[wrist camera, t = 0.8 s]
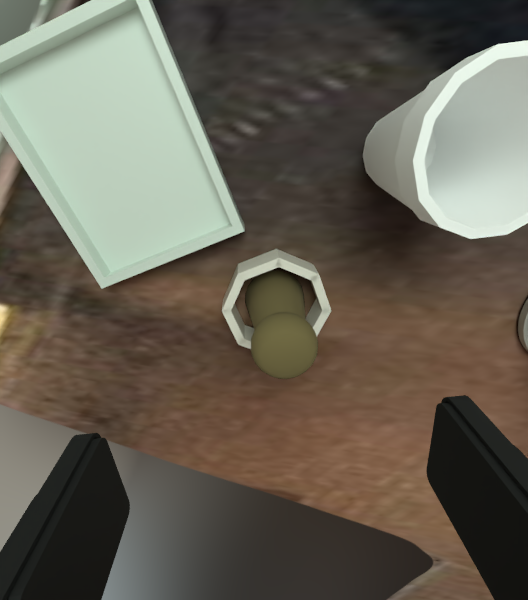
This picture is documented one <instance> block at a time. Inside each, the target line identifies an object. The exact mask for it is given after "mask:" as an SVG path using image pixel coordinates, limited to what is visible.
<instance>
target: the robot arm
mask: <svg viewBox="0 0 528 600" xmlns="http://www.w3.org/2000/svg"><path fill="white" fill-rule="evenodd" d="M518 334H519V339H520V341H521V343H522V345H523V347H524V348H525V349H526V350H527V351H528V299H527V300H526V302H525V304H524V306H523V308H522V311H521V313H520V317H519V321H518ZM427 477H428V480H429V483H430V485H431V486H432V488H433V490H434V492H435V494H436V495H437V497H438V499H439V501H440V503H441V504H442V506H443V508H444V510H445V512H446V513H447V515H448V517H449V519H450V521H451V522H452V524H453V526H454V528H455V530H456V531H457V533H458V535H459V537H460V539H461V540H462V542H463V544H464V546H465V548H466V549H467V551H468V553H469V555H470V556H471V558H472V560H473V562H474V564H475V565H476V567H477V569H478V571H479V573H480V574H481V576H482V578H483V580H484V582H485V583H486V585H487V587H488V589H489V591H490V592H491V594H492V596H493V598H494V600H528V459H527V458H526V457H525V456H524V455H523V453H522V452H521V451H520V450H519V449H518V448H516V447H515V446H514V445H512V444H511V442H510V441H509V440H508V439H507V438H506V437H505V436H504V435H503V434H502V433H501V431H500V430H499V429H498V428H497V427H496V426H495V425H494V424H493V423H492V422H491V421H490V419H489V418H488V417H487V416H486V415H485V414H484V413H483V412H482V411H481V410H480V409H479V407H478V406H477V405H476V404H475V403H474V402H473V401H472V400H471V399H470V398H469V397H468V396H465V395H464V396H455V397H445V398H443V399H442V402H441V403H439V404H438V405H437V407H436V413H435V419H434V426H433V432H432V439H431V445H430V451H429V458H428V464H427ZM129 506H130V504H129V499H128V497H127V494H126V491H125V488H124V486H123V483H122V480H121V478H120V475H119V472H118V470H117V467H116V464H115V461H114V459H113V456H112V453H111V451H110V448H109V445H108V443H107V440H106V439H105V438H101V436H100V435H99V434H98V433H92V434H82V435H75V436H74V437H73V438H72V439H71V441H70V442H69V444H68V446H67V447H66V449H65V450H64V452H63V454H62V455H61V457H60V459H59V460H58V462H57V463H56V465H55V467H54V468H53V470H52V472H51V473H50V475H49V476H48V478H47V480H46V481H45V483H44V485H43V486H42V488H41V489H40V491H39V493H38V494H37V495H36V496H35V497H34V499H33V500H32V502H31V503H30V505H29V506H28V508H27V510H26V511H25V513H24V514H23V516H22V518H21V519H20V521H19V523H18V524H17V526H16V528H15V529H14V531H13V532H12V534H11V536H10V537H9V539H8V540H7V542H6V544H5V545H4V547H3V549H2V550H1V552H0V600H101V598H102V595H103V592H104V589H105V586H106V583H107V580H108V577H109V574H110V571H111V568H112V564H113V561H114V558H115V555H116V552H117V549H118V546H119V543H120V540H121V537H122V534H123V531H124V528H125V524H126V521H127V518H128V515H129V509H130V507H129Z"/></svg>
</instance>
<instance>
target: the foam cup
mask: <svg viewBox="0 0 528 600" xmlns="http://www.w3.org/2000/svg"><path fill="white" fill-rule="evenodd" d="M363 160H364V165H365V170H366V172H367V174H368V175H369V176H370V177H371V179H372V180H373V181H374V182H375V184H377V185H378V186H379V187H381V188H382V189H383V190H385V191H386V192H388V193H389V194H390V195H392V196H393V197H395V198H396V199H397V200H399V201H400V202H402V203H403V204H404V205H406V206H407V207H409V208H410V209H411V210H413V212H414V213H415V214H416V215H417V217H418V218H419V219H420V220H422V221H424V222H427V223H429V224H432V225H435V226H437V227H440V228H443V229H445V230H448V231H451V232H453V233H456V234H459V235H461V236H464V237H467V238H469V239H475V238H483V237H491V236H499V235H507V234H509V233H511V232H512V231H514V230H516V229H518V228H520V227H521V226H523V225H525V224H527V223H528V41H520V42H513V43H505V44H497V45H495V46H493V47H490V48H488V49H486V50H483V51H481V52H479V53H476V54H474V55H472V56H469V57H467V58H466V59H464V60H463V61H461V62H460V63H458V64H457V65H455V66H454V67H452V68H451V69H449V70H448V71H446V72H445V73H443V74H442V75H440V76H439V77H437V78H436V79H434V80H433V81H431V82H430V83H429V85H428V86H427V87H426V89H425V90H424V91H423V92H421V93H420V94H418V95H417V96H415V97H413V98H412V99H410V100H409V101H407V102H406V103H404V104H403V105H401V106H400V107H398V108H397V109H395V110H394V111H392V112H391V113H389V114H388V115H386V116H385V117H383V118H382V119H380V120H379V121H378V122H376V124H375V125H374V127H373V128H372V130H371V131H370V133H369V134H368V136H367V137H366V141H365V146H364V151H363Z"/></svg>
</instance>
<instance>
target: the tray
mask: <svg viewBox="0 0 528 600" xmlns="http://www.w3.org/2000/svg"><path fill="white" fill-rule="evenodd" d="M0 131H1V132H2V134H3V135H4V137H5V139H6V140H7V142H8V143H9V145H10V146H11V148H12V149H13V151H14V153H15V154H16V156H17V157H18V159H19V160H20V162H21V164H22V165H23V167H24V168H25V170H26V171H27V173H28V174H29V176H30V178H31V179H32V181H33V182H34V184H35V185H36V187H37V188H38V190H39V192H40V193H41V195H42V196H43V198H44V199H45V201H46V203H47V204H48V206H49V207H50V209H51V210H52V212H53V213H54V215H55V217H56V218H57V220H58V221H59V223H60V224H61V226H62V227H63V229H64V231H65V232H66V234H67V235H68V237H69V238H70V240H71V242H72V243H73V245H74V246H75V248H76V249H77V251H78V252H79V254H80V256H81V257H82V259H83V260H84V262H85V263H86V265H87V266H88V268H89V270H90V271H91V273H92V274H93V276H94V277H95V279H96V281H97V282H98V284H99V285H100V287H101V288H105V287H107V286H110V285H112V284H115V283H117V282H120V281H122V280H125V279H127V278H130V277H132V276H135V275H137V274H140V273H142V272H144V271H147V270H149V269H152V268H154V267H157V266H159V265H162V264H164V263H167V262H169V261H172V260H174V259H177V258H179V257H182V256H184V255H187V254H189V253H192V252H194V251H197V250H199V249H202V248H204V247H207V246H209V245H212V244H214V243H217V242H219V241H222V240H224V239H227V238H229V237H232V236H234V235H237V234H239V233H242V232H244V231H245V225H244V223H243V221H242V218H241V216H240V213H239V211H238V208H237V206H236V204H235V201H234V199H233V196H232V194H231V191H230V189H229V187H228V184H227V182H226V179H225V177H224V174H223V172H222V170H221V167H220V165H219V162H218V160H217V157H216V155H215V152H214V150H213V148H212V145H211V143H210V140H209V138H208V135H207V133H206V131H205V128H204V126H203V123H202V121H201V118H200V116H199V114H198V111H197V109H196V106H195V104H194V101H193V99H192V97H191V94H190V92H189V89H188V87H187V84H186V82H185V80H184V77H183V75H182V72H181V70H180V67H179V65H178V63H177V60H176V58H175V55H174V53H173V50H172V48H171V46H170V43H169V41H168V38H167V36H166V33H165V31H164V29H163V26H162V24H161V21H160V19H159V16H158V14H157V12H156V9H155V7H154V4H153V2H152V0H91V1H89V2H87V3H85V4H83V5H81V6H79V7H77V8H75V9H73V10H71V11H69V12H67V13H65V14H63V15H61V16H59V17H57V18H55V19H53V20H51V21H49V22H47V23H45V24H43V25H41V26H39V27H37V28H35V29H33V30H31V31H29V32H27V33H25V34H23V35H21V36H19V37H17V38H15V39H13V40H11V41H9V42H7V43H5V44H3V45H1V46H0Z"/></svg>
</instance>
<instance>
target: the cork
mask: <svg viewBox="0 0 528 600" xmlns="http://www.w3.org/2000/svg"><path fill="white" fill-rule="evenodd" d="M245 303H246V306H247V309H248V312H249V315H250V318H251V321H252V324H253V327H254V333H253V335H252V338H251V353H252V356H253V359H254V361H255V363H256V365H257V366H258V367H259V368H260V369H261V371H263V372H265V373H266V374H268V375H270V376H272V377H276V378H279V379H289V378H293V377H297V376H299V375H301V374H302V373H304V372H305V371H306V370H307V369H308V368H309V367H310V366H311V365H312V364H313V362H314V360H315V358H316V356H317V350H318V340H317V336H316V333H315V331H314V329H313V328H312V326H311V325H310V323H309V322H308V321H306V317H305V305H304V294H303V290H302V286H301V285H300V283H299V282H298V280H297V279H296V278H295V277H293V276H292V275H291V274H289V273H286V272H283V271H268V272H265V273H262V274H260V275H258V276H257V277H255V278H254V279H253V280H252V282H251V283H250V284H249V285H248V288H247V291H246V294H245Z"/></svg>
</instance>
